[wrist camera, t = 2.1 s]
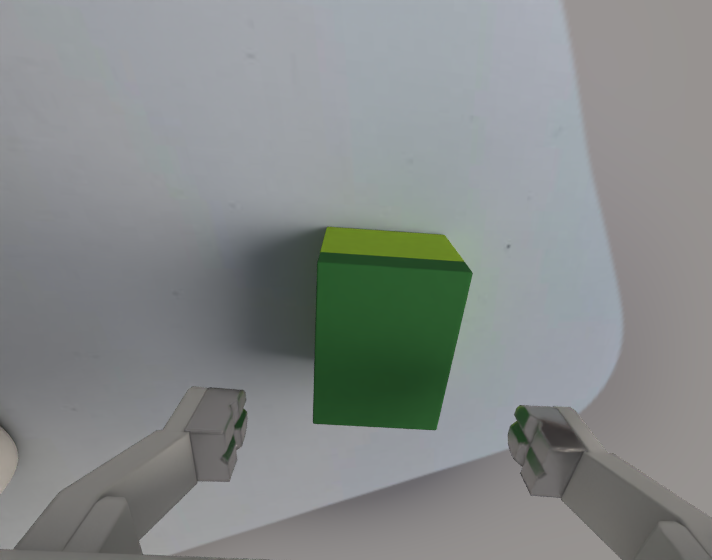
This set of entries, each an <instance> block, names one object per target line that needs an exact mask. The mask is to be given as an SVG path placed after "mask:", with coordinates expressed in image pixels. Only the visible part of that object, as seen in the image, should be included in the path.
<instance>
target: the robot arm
mask: <svg viewBox="0 0 712 560" xmlns="http://www.w3.org/2000/svg"><path fill="white" fill-rule="evenodd" d="M245 402H246V393H245V391H244V390H237V389H225V388H212V387H210V388H207V387H195V386H192V387H191V388H190V389H188V390H187V392H186V394H185V395H184V397H183V398H182V400H181V401H180V403H179V405H178V406H177V408H176V409H175V411H174V413H173V414H172V416H171V417H170V419H169V421H168V422H167V424H166V425H165V427H164V428H163V430H156V431H155V432H153V433H152V434H150V435H148V436H147V437H145V438H144V439H142V440H141V441H139V442H137V443H136V444H134V445H133V446H131V447H130V448H128V449H126V450H125V451H123V452H122V453H120V454H118V455H117V456H115V457H114V458H112V459H111V460H109V461H107V462H106V463H104V464H103V465H101V466H100V467H98V468H96V469H95V470H93V471H92V472H90V473H89V474H87V475H85V476H84V477H82V478H81V479H79V480H77V481H76V482H74V483H73V484H71V485H70V486H68V487H66V488H65V489H63V490H62V491H60V492H59V493H58V494H57V495H56V497H55V498H54V499H53V500H52V502H51V503H50V504H49V505H48V506H47V508H46V509H45V510H44V511H43V513H42V514H41V515H40V516H39V518H38V519H37V520H36V521H35V523H34V524H33V525H32V526H31V528H30V529H29V530H28V531H27V533H26V534H25V535H24V536H23V538H22V539H21V540H20V541H19V542H18V544H17V545H16V546H15V547H14V549H13V550H12V549H0V560H265V559H241V558H240V559H239V558H216V557H189V556H165V555H143V554H142V550H141V547H140V543H139V540H140V539H141V538H142V537H143V536H144V535H145V534H146V533H147V532H148V531H149V530H150V529H151V528H152V527H153V526H154V525H155V524H156V523H157V522H158V521H159V520H160V519H161V518H162V517H163V516H164V515H165V514H166V513H167V512H168V511H169V510H171V509H172V508H173V507H174V506H175V505H176V504H177V503H178V502H179V501H180V500H181V499H182V498H183V497H184V496H185V495H186V494H187V493H188V492H189V491H190V490H191V489H192V488H193V487H194V486H195V485H196V484H197V481H217V482H229V481H230V479H231V476H232V473H233V470H234V467H235V464H236V462H237V452H236V450H238V449H239V448H240V447H241V446H242V444H243V441H244V438H245V434H246V429H247V411H246V410H245V409H244V405H245ZM514 416H515V417H516V419H517V421H516V422H515V423H513V424H512V425H511V426H510V429H509V432H508V446H509V450H510V453H511V455H512V457H513V459H514V460H515V461H516V462H517V463H518V464H520V465H521V466H522V469H521V472H520V474H521V476H522V478H523V480H524V482H525V484H526V487H527V488H528V491H529V493H530V495H531V496H543V497H556V498H561V500H562V501H563V502H564V503H565V504H566V505H567V506H568V507H569V508H570V509H571V510H572V511H573V512H574V513H575V514H576V515H577V516H578V517H579V518H580V519H581V520H582V521H583V522H584V523H585V524H586V525H587V526H588V527H589V528H590V529H591V530H592V531H593V532H594V533H595V534H596V535H597V536H598V537H599V538H600V539H601V540H602V541H604V543H606V545H607V546H608V547H610V548H611V549H612V550H613V551H614V552H615V553H616V554H617V555H618V556H619V557H620V558H621V559H622V560H712V518H711V517H710V516H708V515H707V514H705V513H704V512H702V511H701V510H699V509H697V508H696V507H694V506H693V505H691V504H690V503H688V502H687V501H685V500H684V499H682V498H680V497H679V496H677V495H676V494H674V493H673V492H672V491H670V490H668V489H667V488H665V487H663V486H662V485H661V484H659V483H658V482H656V481H654V480H653V479H652V478H650V477H649V476H647V475H646V474H644V473H643V472H641V471H639V470H638V469H636V468H635V467H633V466H632V465H630V464H629V463H627V462H626V461H624V460H622V459H621V458H619V457H618V456H617V455H615V454H613V453H608V452H607V451H606V450H605V449H604V447H603V446H602V445H601V443H600V442H599V441H598V440H597V438H596V437H595V436H594V434H593V433H592V432H591V430H590V429H589V428H588V427H587V425H586V424H585V423H584V421H583V420H582V419H581V418H580V416H579V415H578V414H577V412H576V411H575V410H574V409H572V408H571V407H555V406H553V407H550V406H529V405H519V406H518V407H517V408H516V411H515V414H514ZM266 560H267V559H266Z"/></svg>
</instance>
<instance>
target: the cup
mask: <svg viewBox="0 0 712 560" xmlns="http://www.w3.org/2000/svg"><path fill="white" fill-rule="evenodd" d="M17 464H18V451H17V448H16V445H15V443H14V441H13V440H12V438H11V437H10V435H9V434H8V433H7V432H6V431H5V430H4V429H3V428H2V427H1V426H0V494H1V493H2V492H3V490H4V489H5V488H6V486H7V485H8V483H9V482H10V480H11V479H12V477H13V475H14V473H15V471H16V468H17Z"/></svg>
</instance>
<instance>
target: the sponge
mask: <svg viewBox="0 0 712 560" xmlns="http://www.w3.org/2000/svg"><path fill="white" fill-rule="evenodd" d="M472 274H473V273H472V271H471V270H470V269H469V267H468V266H467V265H466V263H465V262H464V260H463V259H462V258H461V256H460V255H459V254H458V252H457V251H456V250H455V248H454V247H453V246H452V244H451V243H450V242H449V240H448V239H447V238H446V236H445V235H438V234H424V233H409V232H395V231H381V230H366V229H352V228H338V227H327V228H326V232H325V236H324V239H323V243H322V247H321V250H320V254H319V258H318V262H317V286H316V324H315V362H314V400H313V423H314V424H329V425H347V426H366V427H385V428H403V429H422V430H436V429H437V425H438V420H439V416H440V412H441V408H442V403H443V399H444V395H445V390H446V386H447V382H448V377H449V373H450V369H451V364H452V360H453V356H454V351H455V347H456V343H457V339H458V334H459V330H460V326H461V321H462V317H463V313H464V308H465V304H466V300H467V295H468V291H469V287H470V283H471V278H472Z"/></svg>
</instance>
